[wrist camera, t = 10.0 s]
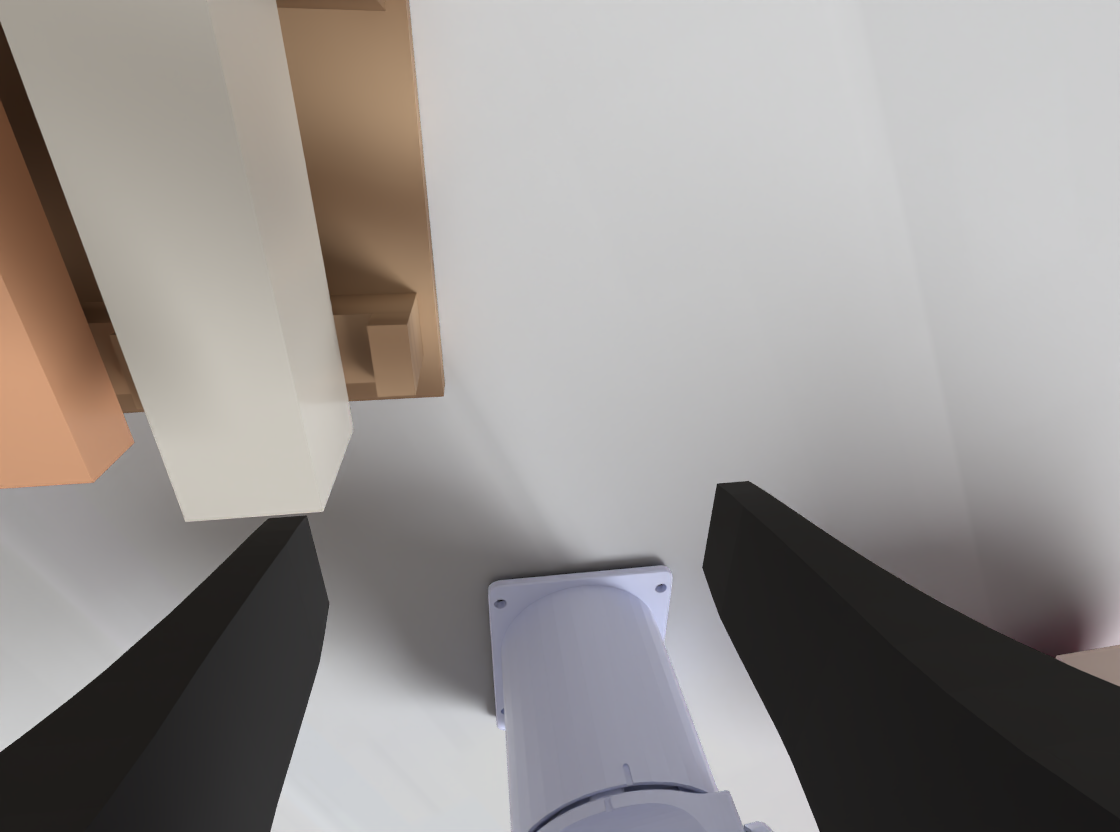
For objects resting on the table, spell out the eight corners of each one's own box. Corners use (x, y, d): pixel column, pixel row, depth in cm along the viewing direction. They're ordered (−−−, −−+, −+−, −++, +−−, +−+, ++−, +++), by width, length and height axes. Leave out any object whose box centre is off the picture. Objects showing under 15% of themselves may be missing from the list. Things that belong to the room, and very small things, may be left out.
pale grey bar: (353, 429, 17) (323, 511, 13) (246, 435, 16) (185, 522, 13) (231, -247, 10) (108, -432, 7) (48, -262, 10) (-181, -466, 6)
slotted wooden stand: (444, 383, 20) (439, 441, 16) (-6, 406, 18) (-120, 476, 15) (393, -164, 13) (366, -264, 10) (-318, -213, 12) (-662, -357, 8)
